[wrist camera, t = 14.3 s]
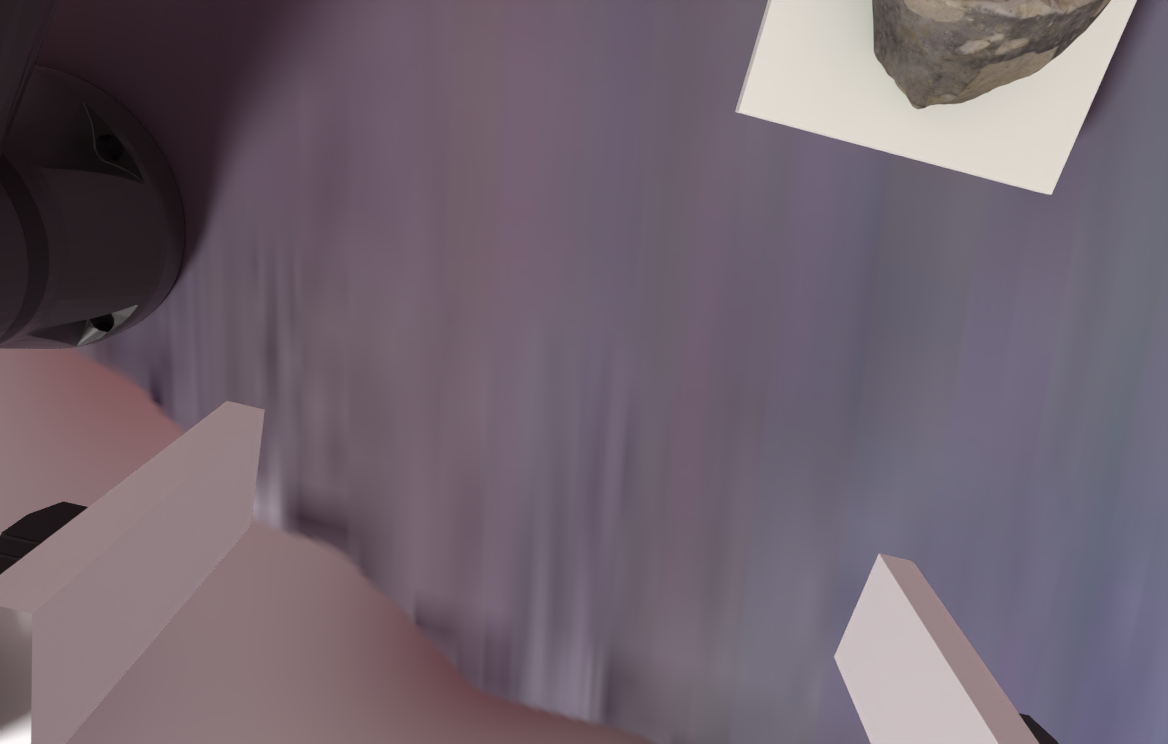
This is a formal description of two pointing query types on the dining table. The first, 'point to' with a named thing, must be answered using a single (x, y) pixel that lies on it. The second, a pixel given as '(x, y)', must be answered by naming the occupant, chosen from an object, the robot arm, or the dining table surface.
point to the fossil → (972, 43)
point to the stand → (938, 132)
